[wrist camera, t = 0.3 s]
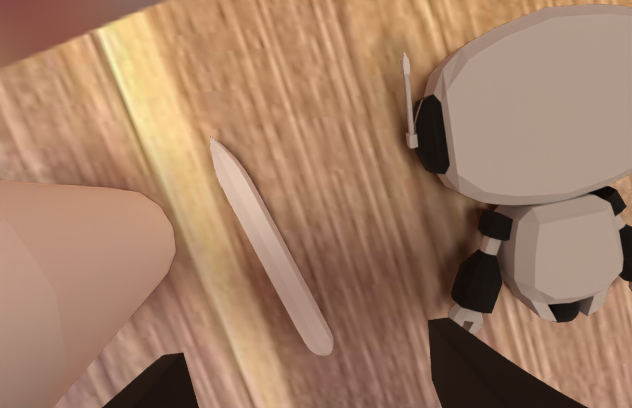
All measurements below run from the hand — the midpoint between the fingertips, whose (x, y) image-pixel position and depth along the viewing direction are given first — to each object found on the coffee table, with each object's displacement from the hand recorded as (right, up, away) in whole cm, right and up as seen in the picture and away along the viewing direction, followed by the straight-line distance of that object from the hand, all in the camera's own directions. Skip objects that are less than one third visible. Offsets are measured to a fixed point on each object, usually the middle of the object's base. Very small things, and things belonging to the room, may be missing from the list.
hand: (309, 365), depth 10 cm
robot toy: (+11, +6, +9) cm, 16 cm away
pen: (-2, +2, +10) cm, 11 cm away
